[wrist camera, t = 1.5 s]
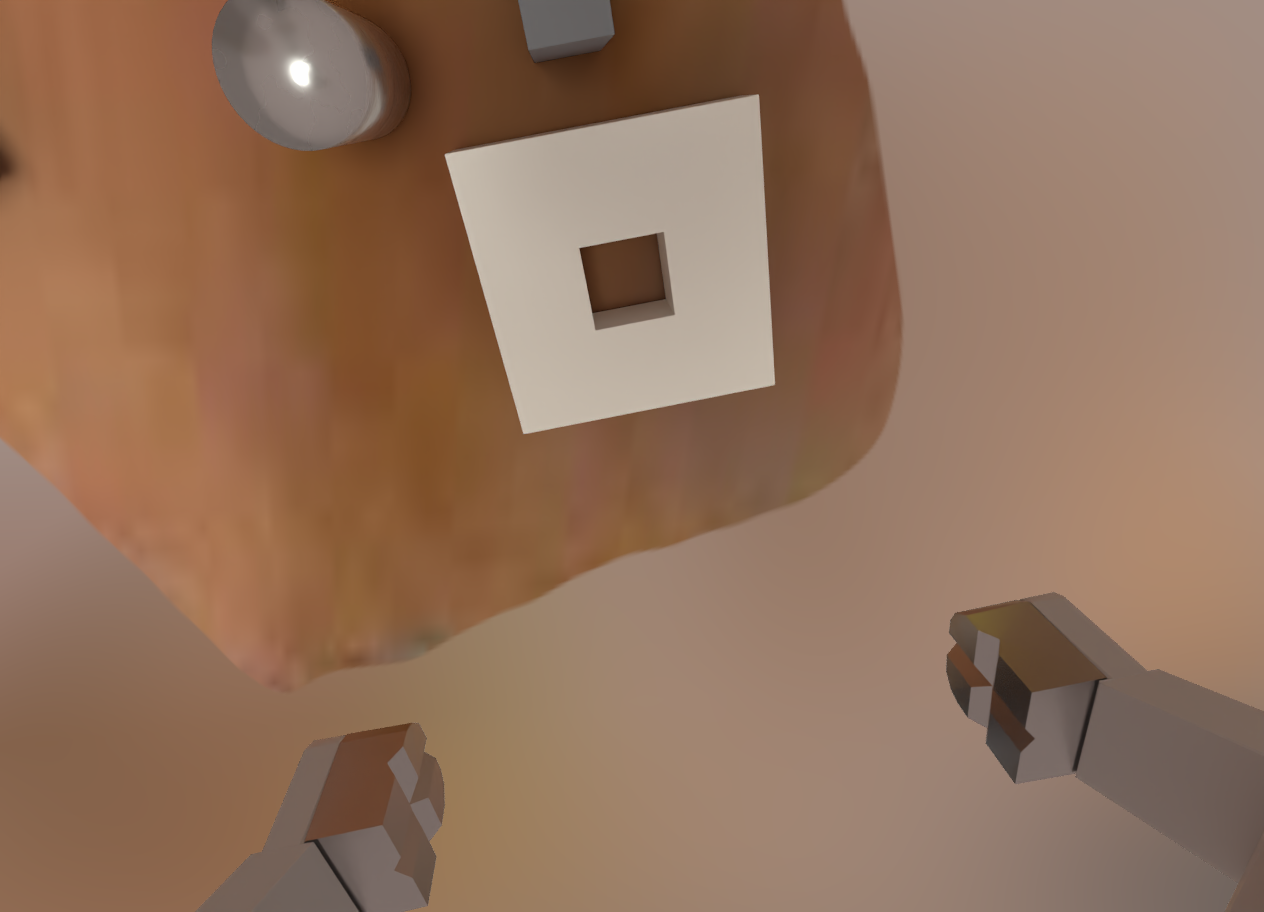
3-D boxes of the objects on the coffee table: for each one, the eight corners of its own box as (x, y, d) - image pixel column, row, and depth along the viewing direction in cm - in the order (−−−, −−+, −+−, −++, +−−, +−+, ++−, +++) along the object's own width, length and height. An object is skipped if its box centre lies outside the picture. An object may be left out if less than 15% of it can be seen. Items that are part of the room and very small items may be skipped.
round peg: (276, 24, 31) (183, -3, 23) (388, 3, 31) (333, -31, 23) (322, 149, 34) (253, 162, 26) (425, 129, 34) (387, 136, 26)
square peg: (517, -19, 31) (505, -61, 23) (587, -32, 31) (598, -78, 24) (534, 63, 33) (528, 50, 25) (600, 50, 33) (614, 33, 25)
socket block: (454, 149, 35) (444, 154, 31) (741, 95, 35) (759, 94, 32) (526, 410, 42) (523, 434, 39) (759, 364, 43) (774, 384, 40)
